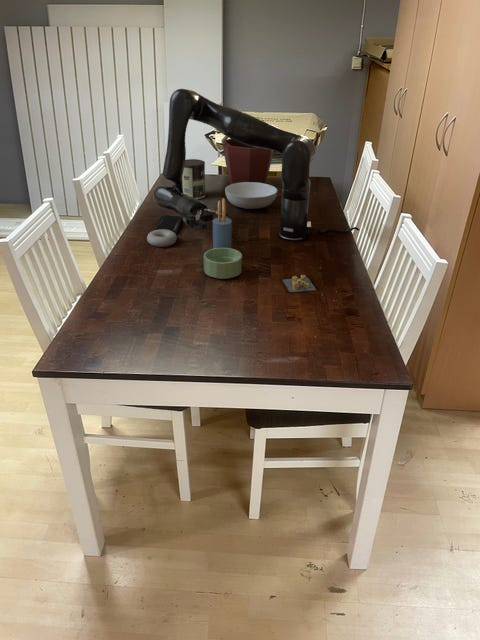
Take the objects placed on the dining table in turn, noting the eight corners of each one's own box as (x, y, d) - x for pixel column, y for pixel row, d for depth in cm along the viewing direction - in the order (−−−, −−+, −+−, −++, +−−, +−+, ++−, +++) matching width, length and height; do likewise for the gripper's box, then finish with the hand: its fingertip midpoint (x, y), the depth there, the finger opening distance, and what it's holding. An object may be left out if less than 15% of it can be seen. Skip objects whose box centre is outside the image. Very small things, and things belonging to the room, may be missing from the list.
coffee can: (206, 192, 222) (205, 159, 215) (204, 200, 214) (204, 165, 206) (182, 191, 222) (181, 158, 215) (179, 199, 214) (178, 165, 206)
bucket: (273, 178, 242) (276, 122, 229) (277, 193, 224) (281, 132, 211) (221, 177, 242) (221, 121, 229) (221, 192, 223) (221, 131, 210)
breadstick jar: (232, 253, 169) (233, 196, 159) (230, 260, 163) (231, 202, 154) (214, 252, 169) (213, 195, 159) (211, 259, 164) (211, 201, 154)
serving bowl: (285, 203, 212) (286, 187, 208) (259, 218, 196) (260, 200, 193) (242, 194, 221) (243, 178, 217) (214, 207, 206) (214, 190, 202)
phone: (182, 216, 193) (175, 231, 180) (182, 219, 194) (175, 234, 181) (161, 215, 194) (153, 230, 181) (162, 218, 194) (153, 233, 181)
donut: (143, 247, 171) (171, 249, 170) (142, 237, 170) (171, 239, 168) (153, 236, 180) (180, 238, 178) (152, 226, 178) (180, 228, 176)
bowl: (243, 264, 161) (243, 248, 158) (239, 281, 151) (240, 264, 149) (206, 262, 162) (206, 246, 159) (201, 279, 152) (201, 262, 149)
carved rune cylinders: (293, 289, 148) (293, 283, 147) (288, 281, 152) (288, 275, 151) (310, 288, 149) (310, 282, 148) (304, 280, 153) (305, 274, 152)
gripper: (172, 202, 169) (198, 217, 157) (209, 195, 176) (236, 208, 165) (173, 224, 173) (198, 240, 161) (209, 216, 180) (236, 231, 168)
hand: (217, 224), depth 163 cm, fingers open, 8 cm apart
